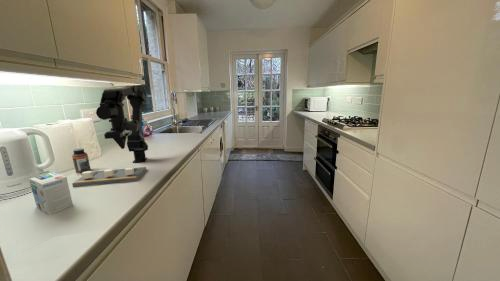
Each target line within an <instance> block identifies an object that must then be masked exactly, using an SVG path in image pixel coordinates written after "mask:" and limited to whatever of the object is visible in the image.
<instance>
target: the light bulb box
mask: <svg viewBox="0 0 500 281" xmlns="http://www.w3.org/2000/svg"><path fill="white" fill-rule="evenodd" d="M28 182H29V184H30V187H31V191H32V195H33V197H34V202H35V206H36V208H38V209H39V210H41V211H43V212H44V213H45V214H47V215H52V214H55V213H58V212H59V211H63V210H65V209H67V208H70V207H72V206H74V204H73V203H74V202H73V199H72V195H71V190H70V187H69V183H68V182H69V181H68V178H67V176H65V175H62V174H59V173H57V172H54V171H53V172H49V173H48V172H47V173H45V174H41V175H38V176H34V177H30V178H29V179H28Z"/></svg>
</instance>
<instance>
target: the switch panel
mask: <svg viewBox="0 0 500 281" xmlns="http://www.w3.org/2000/svg"><path fill="white" fill-rule="evenodd" d="M126 168H127V167H126ZM126 168H125V167H122V168H112V169H113V172H114V175H113V176H111V177H104V171H105V170H106V169H100V170H99V169H98V170H91V171H92V174H93V177H92V178H88V179H83V177H82V176H81V177H79V178H78V179H76V180H75V181H73V182H72V184H71V185H72V187H73V188H74V187H76V188H77V187H87V186H94V185H95V186H96V185H107V184H116V183H117V184H118V183H129V182H130V183H131V182H137V181H138V180H140V178H141V177H142V176H143V175H144V173H145V172H146V171H147V167H146V166H137V167H133V168H134V174H133V175H125V169H126Z"/></svg>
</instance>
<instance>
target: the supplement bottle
mask: <svg viewBox="0 0 500 281" xmlns="http://www.w3.org/2000/svg"><path fill="white" fill-rule="evenodd" d="M71 157H72V162H73V165H74V170H75V172H76V173H83V172H86V171H91V166H90V160H89V156H88V153H87V152H85V149H84V148H75V149H73V154H72V155H71Z"/></svg>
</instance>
